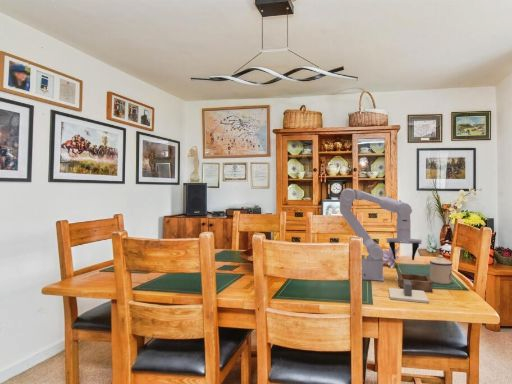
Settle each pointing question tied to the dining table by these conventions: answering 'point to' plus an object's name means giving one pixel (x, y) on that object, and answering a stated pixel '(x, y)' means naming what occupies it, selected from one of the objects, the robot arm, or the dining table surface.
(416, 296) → the cream lid
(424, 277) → the walnut box
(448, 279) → the teacup with lid
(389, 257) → the water lily
